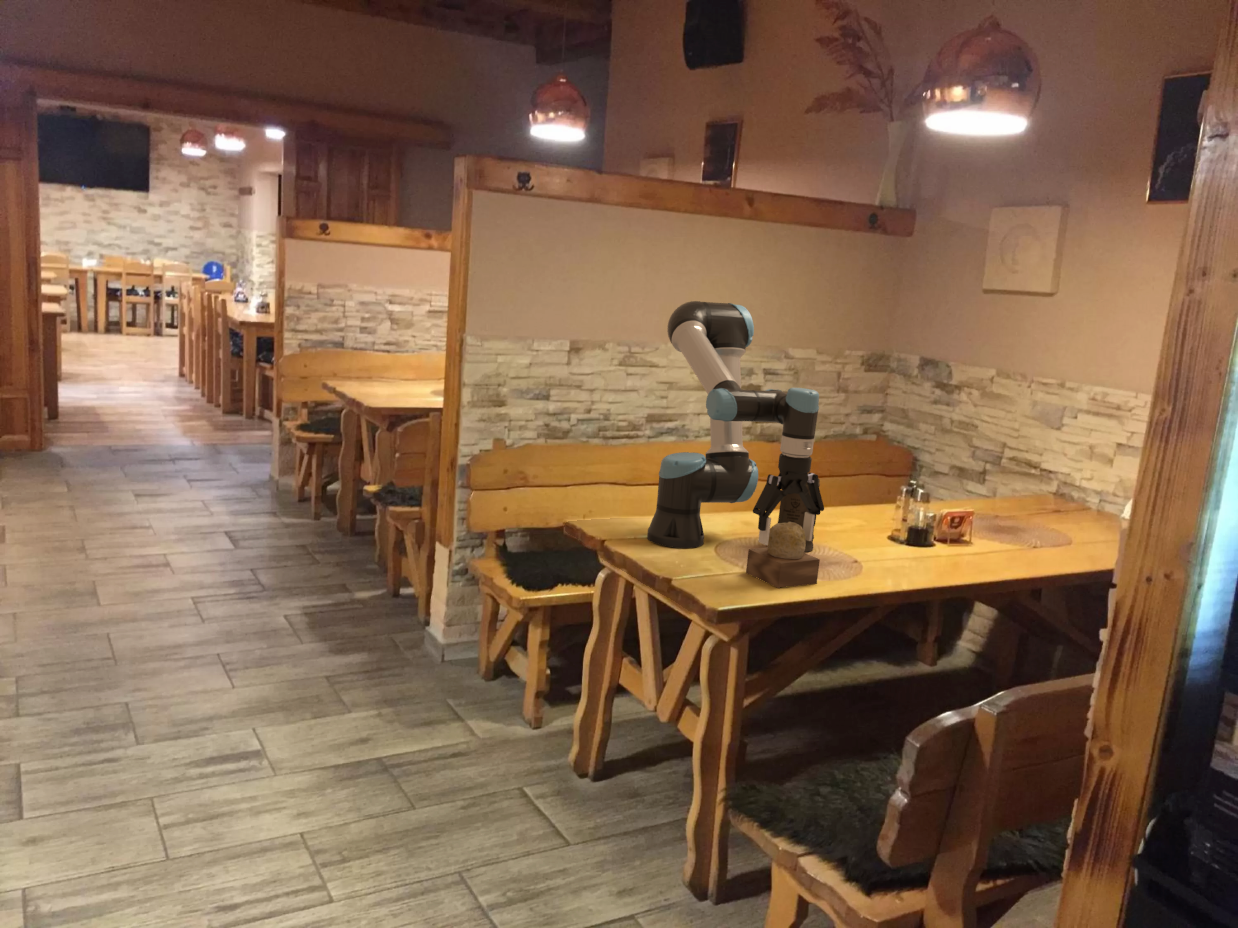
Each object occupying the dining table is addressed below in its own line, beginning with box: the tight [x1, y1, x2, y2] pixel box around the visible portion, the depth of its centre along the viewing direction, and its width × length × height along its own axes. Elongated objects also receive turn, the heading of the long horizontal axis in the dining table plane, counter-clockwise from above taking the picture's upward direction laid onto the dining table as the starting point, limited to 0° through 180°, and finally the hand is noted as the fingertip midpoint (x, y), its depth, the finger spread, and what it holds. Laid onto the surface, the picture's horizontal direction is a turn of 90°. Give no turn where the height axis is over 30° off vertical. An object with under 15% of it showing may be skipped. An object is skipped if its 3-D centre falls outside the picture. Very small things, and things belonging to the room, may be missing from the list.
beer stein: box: [777, 477, 821, 553], centre depth 264 cm, size 15×11×20 cm
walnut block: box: [745, 546, 821, 589], centre depth 234 cm, size 12×12×6 cm
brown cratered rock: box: [767, 522, 806, 559], centre depth 233 cm, size 9×9×8 cm
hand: (785, 541), depth 233 cm, fingers open, 13 cm apart
